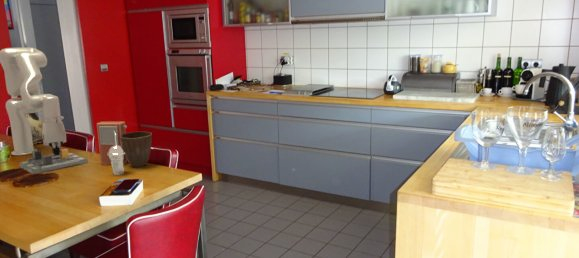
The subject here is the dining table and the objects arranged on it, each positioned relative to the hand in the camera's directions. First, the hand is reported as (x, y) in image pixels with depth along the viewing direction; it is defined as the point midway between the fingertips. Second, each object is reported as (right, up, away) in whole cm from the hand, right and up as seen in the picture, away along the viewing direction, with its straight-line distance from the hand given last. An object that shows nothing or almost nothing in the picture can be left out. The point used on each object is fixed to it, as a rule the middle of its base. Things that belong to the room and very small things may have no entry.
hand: (56, 154), depth 227 cm
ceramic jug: (-39, +4, +48) cm, 62 cm away
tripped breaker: (+3, -2, +3) cm, 4 cm away
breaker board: (-1, -5, -1) cm, 5 cm away
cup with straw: (+39, -8, -18) cm, 44 cm away
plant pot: (+45, -5, -5) cm, 45 cm away
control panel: (+30, -5, 0) cm, 31 cm away
